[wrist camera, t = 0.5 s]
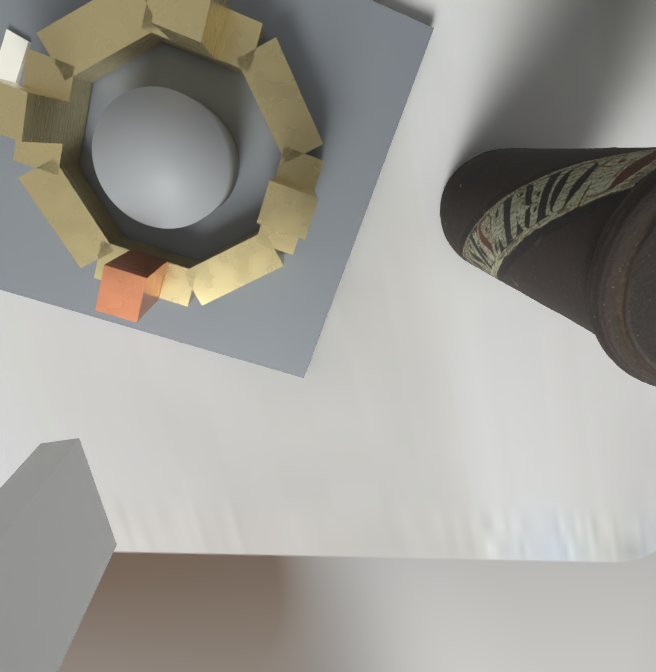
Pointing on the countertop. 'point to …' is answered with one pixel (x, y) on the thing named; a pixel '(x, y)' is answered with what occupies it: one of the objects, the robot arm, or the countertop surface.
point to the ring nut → (68, 129)
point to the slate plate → (353, 153)
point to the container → (567, 237)
